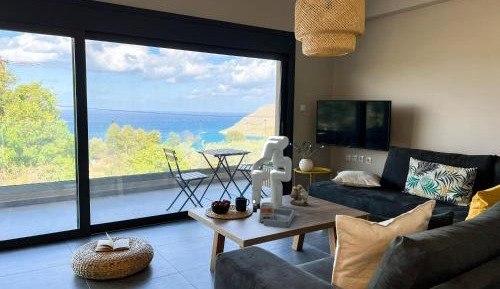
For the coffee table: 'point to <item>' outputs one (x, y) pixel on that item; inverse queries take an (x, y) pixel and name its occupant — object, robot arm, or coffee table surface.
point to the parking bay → (281, 223)
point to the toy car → (266, 211)
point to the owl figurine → (299, 196)
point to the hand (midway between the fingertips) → (256, 210)
